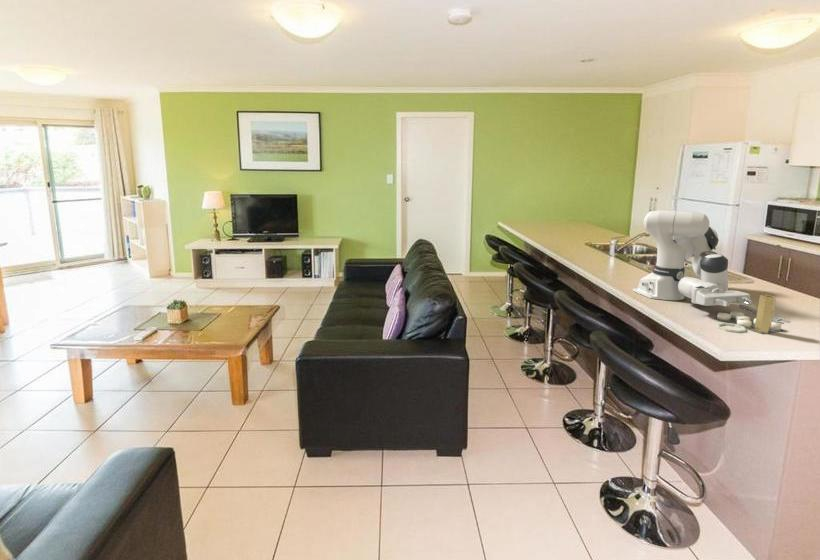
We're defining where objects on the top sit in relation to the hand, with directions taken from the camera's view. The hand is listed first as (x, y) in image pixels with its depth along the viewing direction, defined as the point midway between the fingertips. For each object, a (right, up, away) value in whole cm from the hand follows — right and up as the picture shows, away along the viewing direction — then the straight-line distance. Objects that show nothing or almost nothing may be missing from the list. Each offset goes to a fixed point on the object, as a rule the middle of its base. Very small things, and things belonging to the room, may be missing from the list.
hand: (738, 303), depth 187 cm
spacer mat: (+2, -8, -2) cm, 9 cm away
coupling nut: (+2, -9, -10) cm, 14 cm away
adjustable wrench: (+17, -6, +11) cm, 22 cm away
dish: (-7, -9, -6) cm, 14 cm away
